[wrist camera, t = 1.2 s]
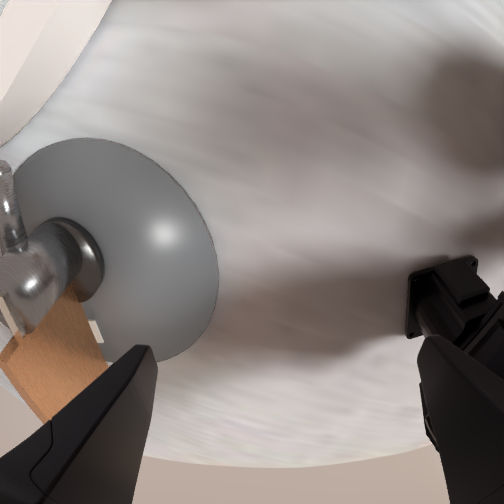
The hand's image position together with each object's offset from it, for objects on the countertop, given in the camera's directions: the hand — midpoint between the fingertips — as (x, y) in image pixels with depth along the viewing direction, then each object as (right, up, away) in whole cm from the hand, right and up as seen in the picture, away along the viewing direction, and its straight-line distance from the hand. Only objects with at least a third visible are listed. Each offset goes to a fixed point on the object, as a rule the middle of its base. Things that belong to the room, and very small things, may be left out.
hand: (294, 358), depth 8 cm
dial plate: (-13, +2, +13) cm, 18 cm away
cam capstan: (-14, +1, +12) cm, 19 cm away
